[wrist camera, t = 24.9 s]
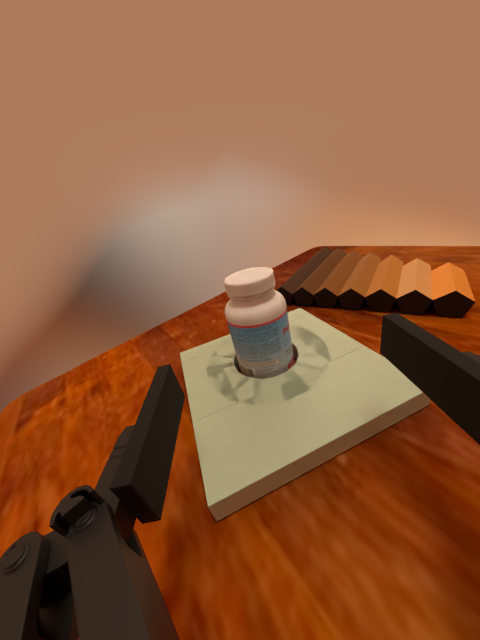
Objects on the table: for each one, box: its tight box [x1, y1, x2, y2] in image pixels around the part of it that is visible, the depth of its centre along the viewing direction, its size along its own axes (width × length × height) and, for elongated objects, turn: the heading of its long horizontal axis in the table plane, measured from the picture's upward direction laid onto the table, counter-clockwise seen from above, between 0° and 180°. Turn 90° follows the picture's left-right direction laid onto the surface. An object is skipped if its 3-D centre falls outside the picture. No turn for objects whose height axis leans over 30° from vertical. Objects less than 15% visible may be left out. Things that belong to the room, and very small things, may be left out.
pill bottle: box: [224, 267, 294, 379], centre depth 23 cm, size 6×6×11 cm
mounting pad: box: [180, 308, 431, 521], centre depth 23 cm, size 18×18×2 cm
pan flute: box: [276, 246, 475, 318], centre depth 40 cm, size 25×3×25 cm
